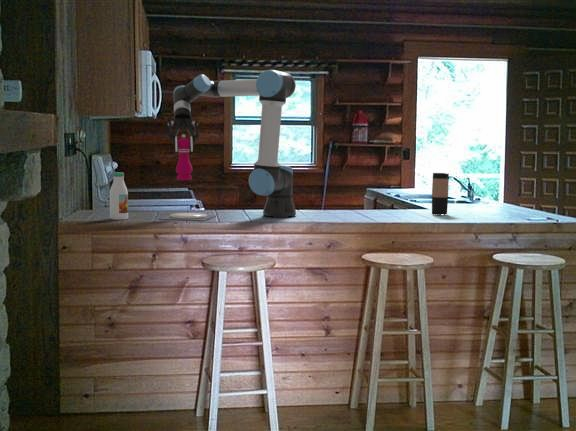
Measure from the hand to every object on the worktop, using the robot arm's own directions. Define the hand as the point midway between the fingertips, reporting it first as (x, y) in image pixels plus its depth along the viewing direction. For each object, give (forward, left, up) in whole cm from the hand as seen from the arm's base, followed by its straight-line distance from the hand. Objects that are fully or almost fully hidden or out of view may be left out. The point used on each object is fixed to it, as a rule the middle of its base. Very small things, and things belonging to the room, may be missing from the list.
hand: (184, 149), depth 311 cm
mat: (-1, -3, -30) cm, 30 cm away
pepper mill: (+1, -3, -14) cm, 14 cm away
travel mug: (-111, -53, -30) cm, 127 cm away
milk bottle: (+26, +10, -30) cm, 41 cm away
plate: (-1, -3, -30) cm, 30 cm away
